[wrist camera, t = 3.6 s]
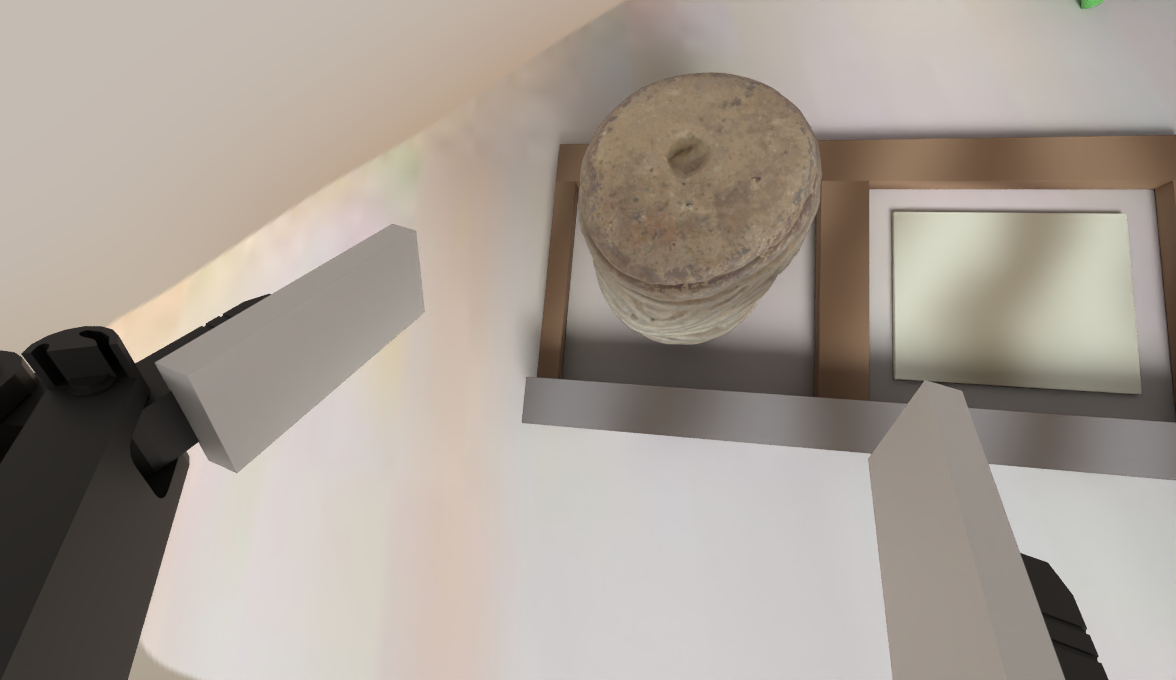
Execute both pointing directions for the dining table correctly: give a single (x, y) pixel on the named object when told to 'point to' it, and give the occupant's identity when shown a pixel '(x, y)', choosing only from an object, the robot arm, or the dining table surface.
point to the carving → (697, 202)
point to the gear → (1089, 3)
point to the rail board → (930, 307)
